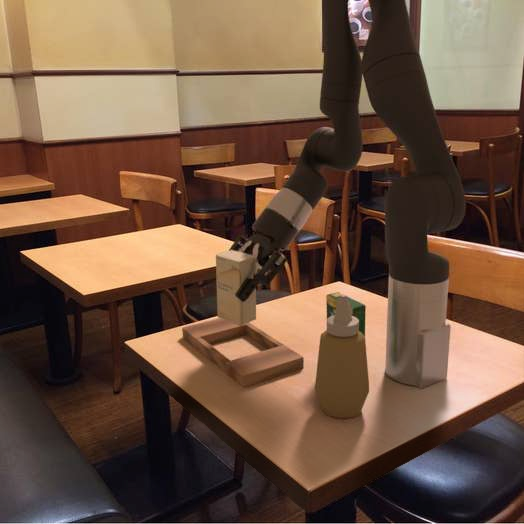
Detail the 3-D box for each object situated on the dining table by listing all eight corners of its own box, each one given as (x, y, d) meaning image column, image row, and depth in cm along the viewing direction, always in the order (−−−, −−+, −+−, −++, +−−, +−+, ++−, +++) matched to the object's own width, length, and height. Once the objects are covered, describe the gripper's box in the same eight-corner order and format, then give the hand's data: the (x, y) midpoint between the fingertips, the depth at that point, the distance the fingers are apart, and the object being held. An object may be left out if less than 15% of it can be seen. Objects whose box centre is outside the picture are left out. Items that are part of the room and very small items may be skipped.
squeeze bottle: (336, 389, 92) (337, 283, 86) (379, 407, 86) (383, 294, 81) (303, 410, 86) (302, 297, 81) (347, 430, 81) (350, 311, 75)
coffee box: (324, 363, 100) (325, 293, 96) (338, 359, 101) (339, 290, 98) (350, 383, 93) (352, 308, 90) (365, 379, 94) (367, 305, 91)
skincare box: (216, 318, 105) (213, 254, 101) (234, 310, 108) (231, 248, 104) (241, 327, 101) (238, 261, 97) (258, 319, 104) (256, 255, 100)
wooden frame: (303, 367, 99) (303, 357, 98) (243, 387, 93) (243, 376, 92) (236, 323, 119) (235, 314, 118) (182, 337, 113) (182, 327, 112)
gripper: (249, 200, 108) (196, 270, 106) (293, 213, 96) (235, 293, 94) (273, 223, 112) (223, 291, 110) (318, 239, 100) (263, 316, 98)
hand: (229, 292), depth 102 cm, fingers closed on skincare box, 7 cm apart
